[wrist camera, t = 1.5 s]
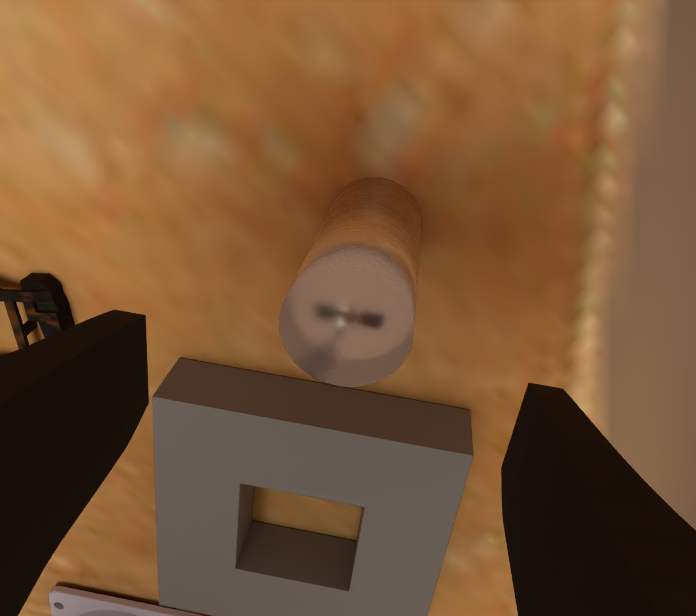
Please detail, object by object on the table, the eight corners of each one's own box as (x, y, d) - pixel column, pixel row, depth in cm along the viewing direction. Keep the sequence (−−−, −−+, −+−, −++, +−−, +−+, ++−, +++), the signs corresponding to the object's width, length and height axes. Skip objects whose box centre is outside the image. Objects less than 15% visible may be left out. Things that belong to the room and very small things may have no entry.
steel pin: (412, 273, 20) (401, 397, 14) (323, 258, 21) (274, 374, 14) (429, 186, 19) (425, 281, 13) (333, 171, 19) (284, 257, 13)
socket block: (417, 603, 28) (415, 657, 26) (180, 556, 28) (159, 604, 26) (469, 410, 23) (473, 455, 20) (179, 357, 23) (152, 396, 21)
